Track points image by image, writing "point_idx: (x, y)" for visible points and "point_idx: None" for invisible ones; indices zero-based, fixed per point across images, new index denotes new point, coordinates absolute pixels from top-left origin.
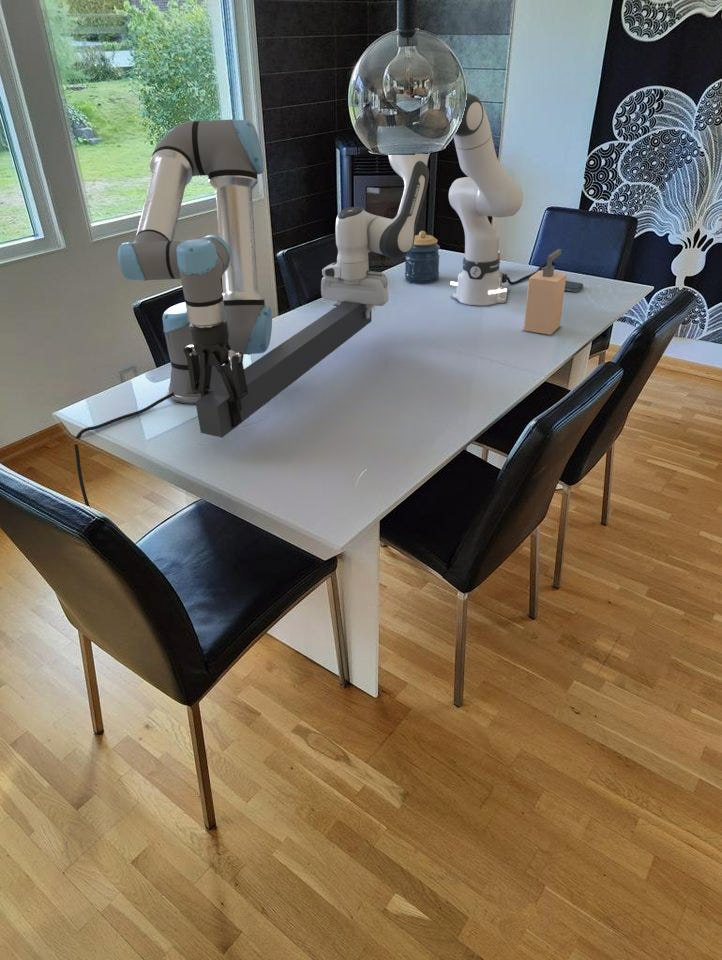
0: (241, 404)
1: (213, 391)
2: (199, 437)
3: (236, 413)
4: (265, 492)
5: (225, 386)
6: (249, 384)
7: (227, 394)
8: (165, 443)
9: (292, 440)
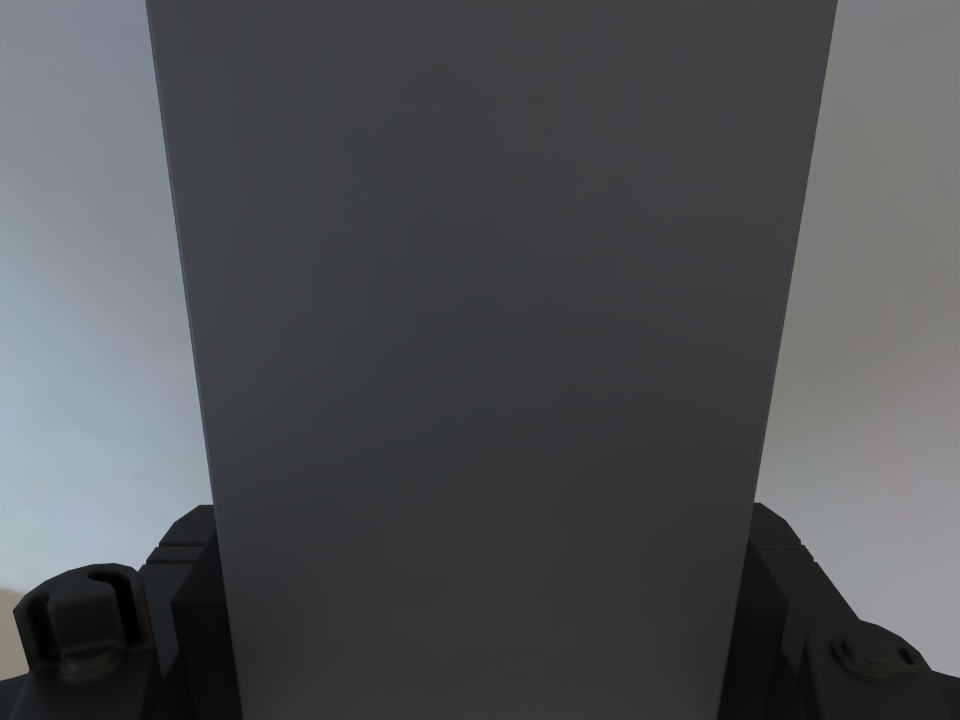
0: (818, 567)
1: (284, 670)
2: (160, 289)
3: None
4: (956, 670)
5: (356, 418)
6: (817, 58)
7: (615, 682)
8: (7, 449)
9: (929, 39)
